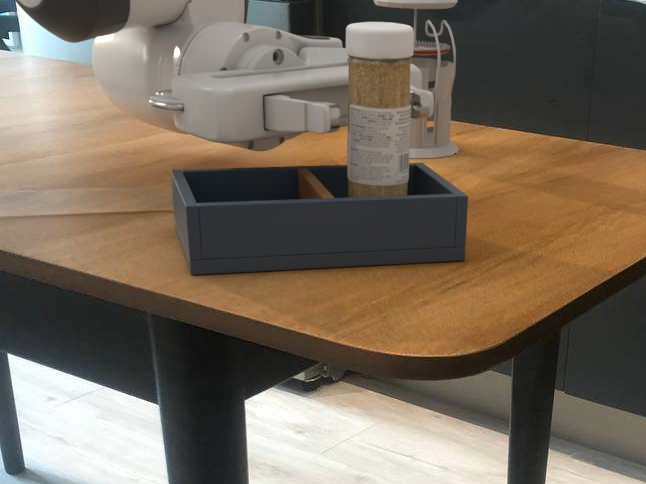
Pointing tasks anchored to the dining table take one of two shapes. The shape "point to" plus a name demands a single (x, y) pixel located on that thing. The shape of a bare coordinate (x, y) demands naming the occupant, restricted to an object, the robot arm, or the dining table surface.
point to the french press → (443, 73)
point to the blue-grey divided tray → (312, 220)
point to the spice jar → (378, 108)
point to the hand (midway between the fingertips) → (382, 112)
